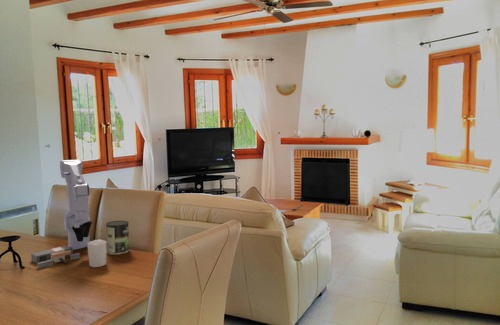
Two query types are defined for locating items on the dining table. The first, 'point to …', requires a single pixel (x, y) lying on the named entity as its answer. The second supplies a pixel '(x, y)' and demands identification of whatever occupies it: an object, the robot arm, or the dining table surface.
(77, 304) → the dining table surface
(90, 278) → the dining table surface
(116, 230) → the coffee can
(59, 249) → the plug
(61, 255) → the latch
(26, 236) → the dining table surface
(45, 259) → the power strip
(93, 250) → the white cup
